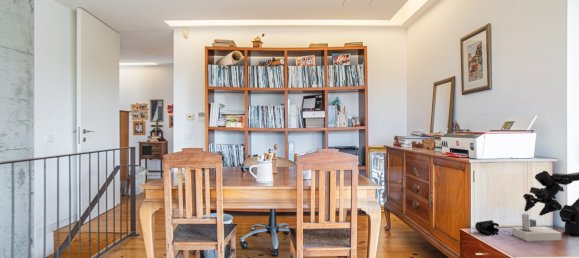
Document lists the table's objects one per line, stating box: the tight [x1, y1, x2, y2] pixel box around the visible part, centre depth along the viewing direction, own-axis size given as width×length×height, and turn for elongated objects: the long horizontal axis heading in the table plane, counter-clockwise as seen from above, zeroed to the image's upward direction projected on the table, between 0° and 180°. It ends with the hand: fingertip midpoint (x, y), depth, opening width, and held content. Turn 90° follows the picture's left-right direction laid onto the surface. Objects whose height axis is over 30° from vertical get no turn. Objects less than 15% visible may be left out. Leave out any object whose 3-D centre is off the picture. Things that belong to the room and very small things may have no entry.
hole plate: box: [511, 226, 563, 242], centre depth 168 cm, size 18×11×4 cm, turn 89°
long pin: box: [521, 213, 530, 232], centre depth 168 cm, size 3×3×12 cm
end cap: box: [474, 219, 500, 237], centre depth 177 cm, size 10×7×7 cm
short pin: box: [529, 218, 537, 227], centre depth 177 cm, size 3×3×7 cm
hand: (532, 213), depth 169 cm, fingers open, 9 cm apart
